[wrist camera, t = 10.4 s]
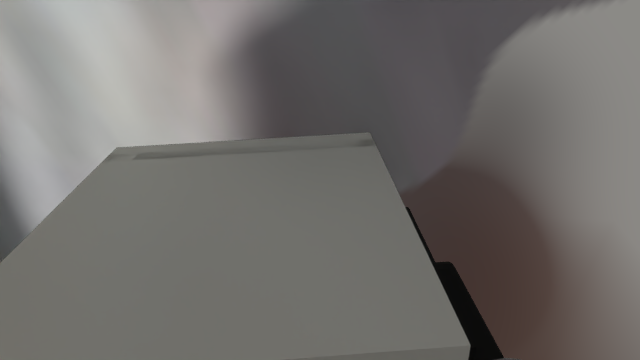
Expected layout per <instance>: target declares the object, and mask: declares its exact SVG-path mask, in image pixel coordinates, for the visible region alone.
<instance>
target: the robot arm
mask: <svg viewBox="0 0 640 360" xmlns="http://www.w3.org/2000/svg"><path fill="white" fill-rule="evenodd" d="M405 208H406V210H407V212H408V214H409V216H410V218H411V221H412V223H413V225H414V227H415V229H416V231H417V233H418V235H419V237H420V240H421V242H422V244H423V246H424V248H425V250H426V252H427V254H428V256H429V259H430V261H431V263H432V265H433V267H434V269H435V271H436V273H437V275H438V278H439V280H440V282H441V284H442V286H443V288H444V290H445V292H446V294H447V297H448V299H449V301H450V303H451V305H452V307H453V309H454V311H455V313H456V316H457V318H458V320H459V322H460V324H461V326H462V328H463V330H464V332H465V335H466V337H467V339H468V341H469V343H470V345H471V346H470V352H469V358H468V360H520V359H510V358H504V357H503V355H502V353H501V352H500V350H499V348H498V346H497V344H496V343H495V340H494V338H493V337H492V335H491V333H490V331H489V329H488V327H487V326H486V324H485V322H484V320H483V318H482V316H481V315H480V313H479V311H478V309H477V307H476V305H475V304H474V302H473V300H472V298H471V296H470V294H469V292H468V291H467V289H466V287H465V285H464V283H463V281H462V280H461V278H460V276H459V274H458V272H457V271H456V269H455V267H454V266H453V264H452V263H450V262H437V263H435V261H434V259H433V257H432V254H431V252H430V250H429V248H428V247H427V245H426V242H425V240H424V238H423V236H422V234H421V232H420V230H419V228H418V226H417V224H416V222H415V219H414V217H413V215H412V213H411V211H410V209H409V208H408V207H405Z"/></svg>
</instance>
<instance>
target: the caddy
mask: <svg viewBox="0 0 640 360" xmlns="http://www.w3.org/2000/svg"><path fill="white" fill-rule="evenodd" d="M470 346H471V345H470V343H469V341H468V339H467V337H466V335H465V332H464V330H463V328H462V326H461V324H460V322H459V320H458V318H457V316H456V313H455V311H454V309H453V307H452V305H451V303H450V301H449V299H448V297H447V294H446V292H445V290H444V288H443V286H442V284H441V282H440V280H439V278H438V275H437V273H436V271H435V269H434V267H433V265H432V263H431V261H430V259H429V256H428V254H427V252H426V250H425V248H424V246H423V244H422V242H421V240H420V237H419V235H418V233H417V231H416V229H415V227H414V225H413V223H412V221H411V218H410V216H409V214H408V212H407V210H406V208H405V206H404V204H403V202H402V200H401V197H400V195H399V193H398V191H397V189H396V187H395V185H394V183H393V181H392V178H391V176H390V174H389V172H388V170H387V168H386V166H385V164H384V162H383V159H382V157H381V155H380V153H379V151H378V149H377V147H376V145H375V143H374V140H373V138H372V136H371V134H370V132H369V133H352V134H335V135H319V136H302V137H285V138H268V139H252V140H235V141H218V142H201V143H185V144H168V145H151V146H134V147H117V148H116V149H115V150H114V151H113V152H112V153H111V154H110V155H109V156H108V157H107V158H106V159H105V160H104V161H103V162H102V163H100V164H99V165H98V166H97V167H96V168H95V169H94V170H93V171H92V172H91V173H90V174H89V175H88V176H87V177H86V178H85V179H84V180H83V181H82V182H81V183H80V184H79V185H78V186H77V187H76V188H75V189H74V190H73V191H72V192H71V193H70V194H69V195H68V196H67V197H66V198H65V199H64V200H63V201H62V202H61V203H60V204H59V205H58V206H57V207H56V208H55V209H54V210H53V211H52V212H51V213H50V214H49V215H48V216H47V217H46V218H45V219H44V220H43V221H42V222H41V223H40V224H39V225H38V226H37V227H36V228H35V229H34V230H33V231H32V232H31V233H30V234H29V235H28V236H27V237H26V238H25V239H24V240H23V241H22V242H21V243H20V244H19V245H18V246H17V247H16V248H15V249H14V250H13V251H12V252H11V253H10V254H9V255H8V256H7V257H6V258H5V259H4V260H3V261H1V262H0V360H468V358H469V352H470Z"/></svg>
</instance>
